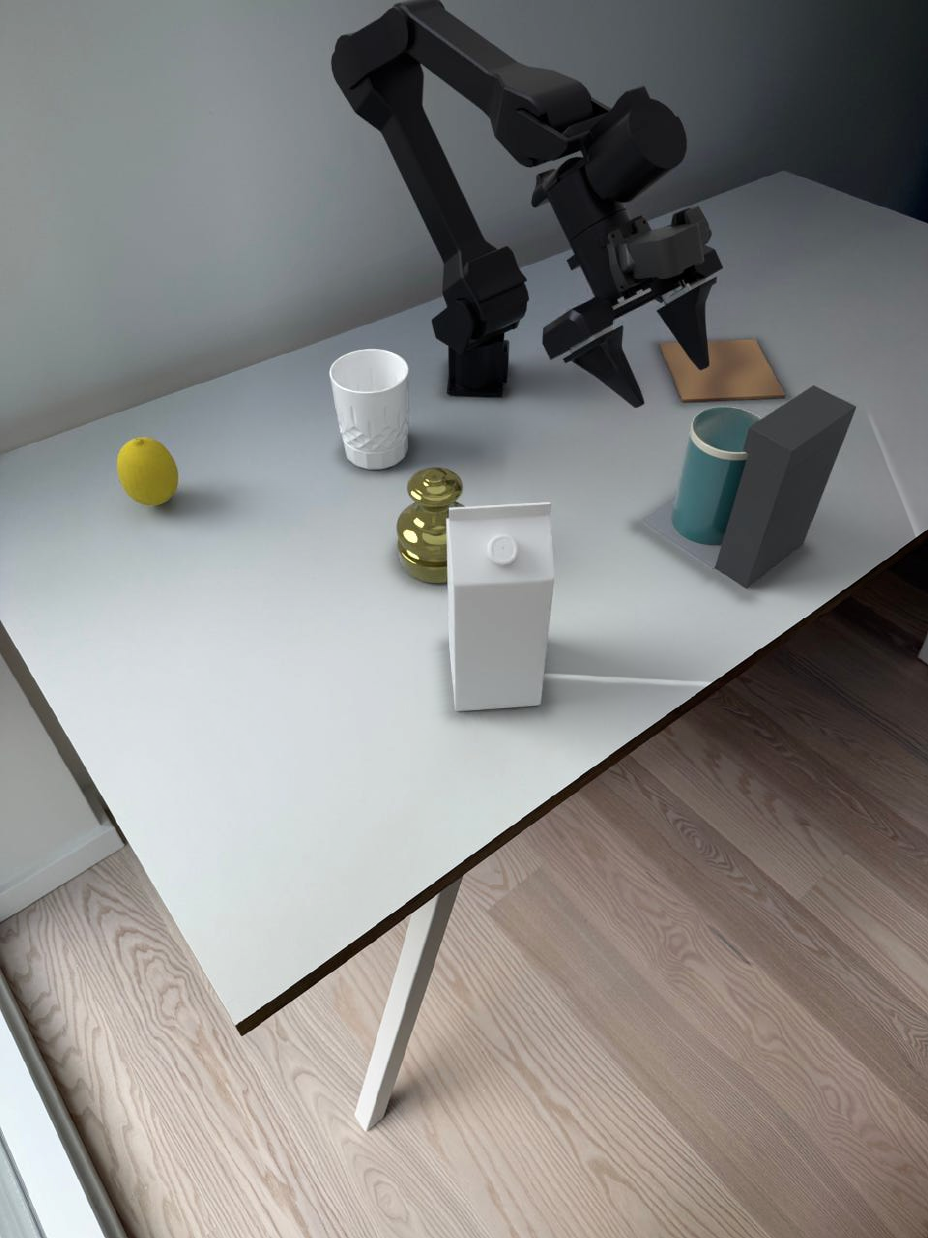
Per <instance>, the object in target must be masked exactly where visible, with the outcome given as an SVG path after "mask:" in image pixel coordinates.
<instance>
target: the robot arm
mask: <svg viewBox="0 0 928 1238" xmlns="http://www.w3.org/2000/svg"><path fill="white" fill-rule="evenodd" d="M330 65H331V72H332V76H333V79H334V80H335V81H334V82H336V85H337V86H338V88H339V89H340V90H341V93H342V94H343V96H344V97H345V99H346V101H347V102H348V104H349V106H350V107H351V109H352V111H353V112H354V113H355V115H357V116H358V117H360V118H361V119H363V120H364V121H365V122H366V123H368V124H369V125H371V126H372V127H373V128H375V129H376V130H377V131H379V132H380V134H381V135H382V138H383V140H384V141H385V144H386V145H387V148H388V150H389V151H390V154H391V156H392V158H393V160H394V162H395V164H396V166H397V169H398V171H399V173H400V175H401V177H402V179H403V181H404V183H405V185H406V188H407V189H408V192H409V193H410V196H411V198H412V200H413V202H414V204H415V207H416V208H417V210H418V212H419V214H420V217H421V219H422V221H423V223H424V225H425V227H426V230H427V231H428V233H429V235H430V238H431V239H432V241H433V244H434V246H435V248H436V250H437V252H438V254H439V257H440V258H441V260H442V264H443V268H442V269H443V271H442V291H441V293H442V296H443V299H444V302H445V305H446V307H445V308H444V309H443V310H442V311H441V312H439V313H438V314H437V315H436V316H434V317H433V318H432V319H431V326H432V331H433V333H434V338H435V339H436V340H438V341H439V342H441V343H442V344H444V345H445V346H447V362H448V363H447V364H448V365H447V366H448V377H447V383H446V394H447V395H451V396H476V397H477V396H478V397H480V396H481V397H502V396H503V394H504V385H505V384H507V383H508V379H509V360H510V340H508V339H505V334H506V333H507V332H509V331H512V330H516V329H518V328H519V324H520V322H521V320H522V319H523V318H524V317H525V316H526V312H527V310H528V302H529V301H530V295H529V291H528V288H527V285H526V282H527V281H528V279H527V277H526V276H525V274H523V271H522V270H521V269H520V267H519V264H518V262H517V260H516V259H517V258H516V255H515V253H514V252H513V250H512V249H511V248H510V247H509V246H508V245H505V246H503V247H500V248H497V247H496V246H495V245H493V244H492V243H490V242H489V241H487V240H486V238H485V236H484V235H483V233H482V230H481V229H480V226H479V224H478V222H477V220H476V217H475V216H474V213H473V211H472V209H471V207H470V205H469V203H468V201H467V198H466V197H465V195H464V191H463V190H462V188H461V185H460V184H459V181H458V179H457V177H456V175H455V173H454V171H453V168H452V166H451V164H450V162H449V160H448V158H447V156H446V153H445V152H444V151H445V150H444V149H443V148H442V145H441V143H440V140H439V139H438V136H437V134H436V132H435V130H434V128H433V126H432V124H431V122H430V119H429V117H428V115H427V113H426V111H425V108H424V89H425V87H424V86H425V72H424V70H423V67H424V68H425V69H427V70H428V71H430V72H431V73H432V74H433V75H434V76H436V77H437V78H439V80H442V81H443V82H444V83H445V84H447V85H448V86H449V87H450V88H452V89H453V90H454V91H456V92H457V93H458V94H460V95H461V96H462V97H463V98H465V99H466V100H468V101H469V102H470V103H471V104H473V105H474V106H475V107H477V108H478V109H479V110H480V111H482V112H483V114H485V115H486V117H488V119H489V120H490V124H491V128H492V132H493V136H494V138H495V139H496V141H498V143H499V144H500V145H501V146H502V147H503V148H504V149H505V150H506V152H508V154H509V155H510V156H511V157H512V158H513V159H514V160H515V161H516V162H517V163H518V164H519V165H521V166H523V167H525V168H529V169H531V168H535V167H539V166H541V165H543V164H546V163H550V162H555V161H558V160H561V159H562V158H565V157H568V156H571V155H573V154H577V153H578V152H580V153H581V155H582V156H573V157H571V158H568V159H566V160H565V161H564V162H563V163H562V164H560V165H559V166H558V167H556V168H553V167H552V168H550V169H547V170H545V171H542V172H539V173H537V174H536V176H535V187H534V190H533V191H532V195H531V200H530V201H531V202H530V204H531V206H532V208H534V209H535V208H536V209H537V208H539V207H541V206H543V205H545V204H548V203H549V204H550V206H551V209H552V211H553V213H554V215H555V217H556V219H557V221H558V223H559V226H560V228H561V229H562V232H563V234H564V236H565V238H566V239H567V242H568V244H569V246H570V248H571V250H572V252H573V255H571V256H570V257H569V258H568V259H566V262H567V264H568V267H569V269H570V271H574V270H577V269H578V268H580V269H581V271H582V273H583V275H584V279H585V280H586V282H587V284H588V286H589V288H590V290H591V293H592V294H593V296H594V297H592V298H590V299H588V300H587V301H585V302H583V303H581V304H578V305H576V306H575V307H572V308H570V309H569V310H567V311H566V312H565V313H562V315H560V316H558V317H557V318H556V319H554V320H552V321H551V322H550V323H548V324H547V325H545V326H544V327H542V340H541V344H542V346H543V348H544V350H545V352H546V354H547V356H548V358H549V360H550V361H552V360H554V359H556V358H558V357H560V356H562V355H564V354H566V353H568V352H570V354H568V355H567V356H565V357H563V358H562V361H563V363H564V364H568V363H573V364H575V365H576V366H578V367H579V368H581V369H582V370H584V371H585V372H587V373H588V374H590V375H592V376H593V377H594V378H596V379H597V380H599V381H600V382H601V383H602V384H604V385H605V386H607V388H609V389H610V390H611V391H612V392H614V393H615V394H617V396H619V397H620V398H621V399H622V400H624V401H625V402H626V403H627V404H629V405H630V406H631V407H633V408H634V409H638V408H640V407H643V406H644V405H645V399H644V396H643V393H642V390H641V387H640V384H639V382H638V380H637V378H636V376H635V374H634V372H633V369H632V366H631V364H630V362H629V360H628V358H627V356H626V353H625V351H624V348H623V339H624V338H623V336H624V325H623V324H621V325H620V326H618V327H616V328H612V326H613V325H614V322H615V320H617V319H619V318H621V317H624V316H625V315H627V314H630V313H631V312H633V311H636V310H637V309H639V308H641V307H643V306H645V305H647V304H649V303H651V302H653V301H656V302H658V303H659V304H663V303H664V305H663V306H662V307H660V308H658V309H656V313H657V314H658V315H659V318H661V320H662V322H663V323H664V324H665V326H666V327H667V328H668V330H669V331H670V333H671V334H672V335H673V337H674V339H675V340H676V341H677V343H679V344H680V345H681V347H682V348H683V350H684V351H685V353H686V354H687V356H688V357H689V358H690V360H691V361H692V362H693V363H694V364H695V366H696V367H697V368H698V369H699V370H703V369H705V368H707V367H709V365H710V363H709V352H708V342H707V341H708V333H707V321H706V304H707V300H708V298H709V295H710V293H711V290H712V287H713V286H714V285H715V284H717V281H718V276H714V277H713V278H711V279H709V280H707V281H706V279H707V278H709V277H711V276H713V275H714V274H716V273H718V272H719V271H721V270H723V269H724V266H723V263H722V261H721V259H720V257H719V255H718V253H717V250H716V249H715V248H714V247H711V246H708V245H707V244H709V242H710V240H711V238H712V235H713V232H712V229H711V228H710V224H709V222H708V219H707V218H706V216H705V215H704V212H703V211H702V209H701V207H700V206H699V205H694V206H689V207H685V208H683V209H681V210H678V211H676V212H674V213H673V214H672V217H671V221H670V224H667V225H665V226H663V227H660V228H654V229H652V228H651V226H650V224H649V221H648V220H647V219H646V218H645V217H643V214H640V215H638V216H636V217H634V218H632V217H631V214H630V212H629V209H628V208H627V205H626V203H631V202H633V201H634V200H636V199H637V198H638V197H640V196H641V195H642V194H644V193H645V192H646V191H647V190H649V189H650V188H651V187H652V186H654V185H655V184H656V183H657V182H659V181H660V180H661V179H662V178H664V177H665V176H666V175H668V174H669V173H670V172H671V171H673V170H674V169H676V168H677V167H678V166H679V165H680V164H682V162H683V160H684V159H685V158H686V154H687V150H688V138H687V133H686V130H685V127H684V124H683V122H682V120H681V118H680V116H678V115H677V116H676V115H675V113H674V112H673V110H671V108H669V106H667V105H666V104H665V103H663V102H661V101H660V100H657V99H655V98H651V97H650V94H649V92H648V90H647V89H646V88H647V87H646V86H645V85H643V84H642V85H639V86H636V87H632V88H630V89H628V90H626V91H624V93H622V94H621V96H620V97H618V99H617V100H616V101H615V102H614V105H613V106H612V107H610V106H608V105H606V104H605V103H603V102H601V101H600V100H598V99H596V98H594V97H592V94H591V93H590V91H589V90H588V88H587V87H586V86H585V85H584V84H583V83H582V82H581V81H579V80H578V79H576V78H573V77H570V76H568V75H566V74H563V73H561V72H558V71H556V70H553V69H549V68H542V67H536V66H529V65H526V64H523V63H522V62H519V61H518V60H515V59H514V58H513V57H511V56H510V55H509V54H507V53H506V52H505V51H503V50H502V49H500V48H499V47H498V46H496V45H495V44H494V43H492V42H491V41H489V40H488V39H487V38H486V37H484V36H483V35H481V34H480V33H478V32H477V31H476V30H474V29H473V28H472V27H470V26H469V25H467V24H466V23H465V22H463V21H462V20H460V18H458V17H456V16H454V14H452V13H451V12H449V11H448V10H446V7H445V6H444V4H443V2H442V1H441V0H404V1H401V2H396V3H394V4H393V5H392V7H391V8H389V9H387V10H386V11H385V12H384V13H383V14H382V15H381V16H380V17H379V18H377V19H375V20H374V21H372V22H370V23H368V24H366V25H365V26H364V27H361V29H359V30H357V31H353V32H349V33H345V34H341V35H340V36H339V37H338V38H337V39H336V42H335V45H334V51H333V52H332V55H331V59H330ZM641 290H642V291H641ZM621 298H623V300H622V301H620V302H619V300H620V299H621Z"/></svg>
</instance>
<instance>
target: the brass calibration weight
mask: <svg viewBox="0 0 928 1238" xmlns="http://www.w3.org/2000/svg"><path fill="white" fill-rule="evenodd" d="M463 491H464V484H463V480H462V479H461V477H460V476H459V474H457V473H456V472H454V471H452V470H450V469H448V468H444V467H436V466H435V467H427V468H423V469H420V470H418V471H417V472H415V473H414V474H411V476H410V477H409V479H408V481H407V484H406V492H407V494H408V497H410V499H411V500H412V501H413V502H412V503H411V504H409V505H408V506H407V507H406V508H404V509H403V510H402V512H401V513H400V514H399V516H398V518H397V521H396V534H397V549H398V554H399V555H398V556H399V563H400V565H401V567H402V569H403V570H404V571H405V572H406V573H407V574H408V575H409V576H410V577H413V578H414V579H416V580H418V581H421V582H424V583H431V584H443V583H448V573H447V525H446V519H447V518H449V508H452V507H466V505H465V504H462V503H460V502H459V501H458V500H459V499H460V498H461V497H462V495H463Z"/></svg>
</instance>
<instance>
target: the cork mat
mask: <svg viewBox="0 0 928 1238" xmlns="http://www.w3.org/2000/svg"><path fill="white" fill-rule="evenodd" d="M707 342H708V352H709V363H710V365H709V367H707V368H705V369H703V370H699V369H698V368H697V367H696V366H695V364H694V363H693V362H692V361H691V360H690V358H689V357H688V356H687V354H686V353H685V351H684V350H683V348H682V347H681V345H680V344H679V343H678V342H660V343H659V348H660V350H661V354H662V355H663V358H664V360H665V363H666V365H667V368H668V370H669V372H670V375H671V378H672V380H673V382H674V385H675V387H676V389H677V392H678V394H679V398H680V399H681V402H682V403H697V402H718V401H720V402H721V401H741V400H742V401H743V400H761V399H762V400H763V399H764V400H765V399H784V398H786V393H785V391H784V389H783V388H782V386H781V384H780V382H779V380H778V378H777V377H776V374H775V373H774V371H773V369H772V367H771V365H770V364H769V362H768V360H767V358H766V356H765V354H764V352H763V351H762V349H761V347H760V345H759V344H758V341H757V340H756V339H755V338H753V339H751V338H750V339H730V340H729V339H728V340H726V339H725V340H707Z"/></svg>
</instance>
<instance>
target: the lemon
mask: <svg viewBox="0 0 928 1238" xmlns="http://www.w3.org/2000/svg"><path fill="white" fill-rule="evenodd" d="M116 469H117V477H118V480H119V482H120V484H121V487H122V488H123V490H124V492H125V493H126V494H127V495H128V497H130V498H131V499H132V500H133V501H134V502H137V503H138V504H141V505H145V506H150V507H151V506H153V507H154V506H160V505H162V504H164V503H167V501H169V500H170V499H171V498H172V497H173V496H174V495H175V493H176V491H177V489H178V485H179V471H178V467H177V463H176V461H175V458H174V457H173V455H172V453H171V452H170V451H169V449H168V448H167V447H166V446H165V445H164V444H163V443H161V442H160V441H158V440H157V439H155V438H151V437H145V436H143V437H141V436H140V437H135V438H132V439H131V440H129V441H127V442H126V443H124V445H123V446H122V447H121V449H120V450H119V452H118V455H117V459H116Z"/></svg>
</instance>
